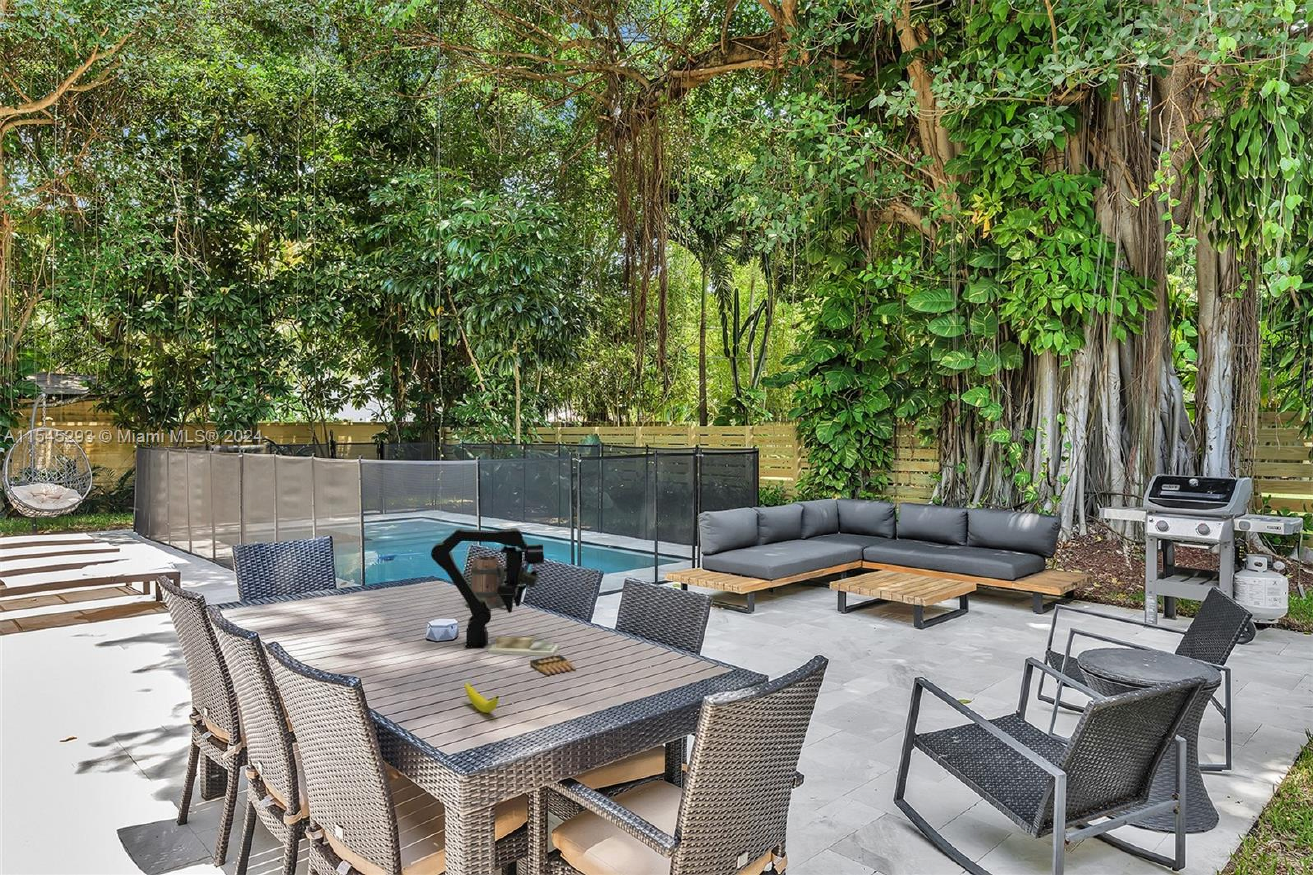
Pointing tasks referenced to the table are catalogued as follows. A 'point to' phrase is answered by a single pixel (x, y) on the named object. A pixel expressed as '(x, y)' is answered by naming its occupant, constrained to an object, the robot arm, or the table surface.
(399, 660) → the table surface
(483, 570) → the tankard
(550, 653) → the board
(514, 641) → the turner
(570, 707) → the table surface
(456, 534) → the robot arm
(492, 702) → the banana
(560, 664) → the ammunition clip
